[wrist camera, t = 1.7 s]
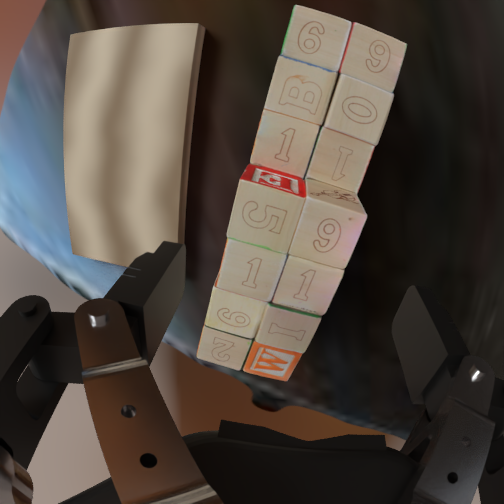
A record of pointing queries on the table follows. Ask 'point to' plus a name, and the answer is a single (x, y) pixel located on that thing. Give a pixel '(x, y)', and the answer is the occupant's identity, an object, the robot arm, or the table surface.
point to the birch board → (129, 137)
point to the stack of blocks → (300, 193)
